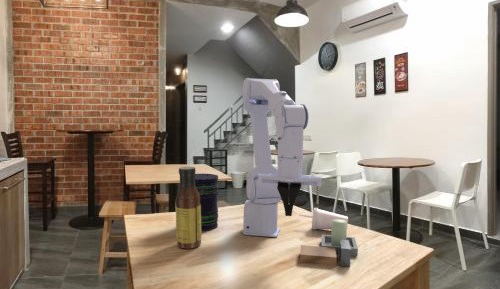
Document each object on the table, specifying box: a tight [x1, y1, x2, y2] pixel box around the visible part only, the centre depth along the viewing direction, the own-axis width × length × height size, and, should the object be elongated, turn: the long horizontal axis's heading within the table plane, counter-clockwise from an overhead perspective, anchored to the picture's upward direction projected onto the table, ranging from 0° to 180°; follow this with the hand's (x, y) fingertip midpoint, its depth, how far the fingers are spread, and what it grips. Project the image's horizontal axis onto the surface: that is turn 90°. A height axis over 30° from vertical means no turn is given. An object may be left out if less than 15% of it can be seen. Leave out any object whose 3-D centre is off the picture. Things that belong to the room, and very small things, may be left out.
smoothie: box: [298, 207, 349, 231], centre depth 106 cm, size 6×6×14 cm
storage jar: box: [195, 173, 219, 232], centre depth 107 cm, size 10×10×15 cm
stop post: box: [339, 239, 352, 268], centre depth 83 cm, size 2×6×4 cm, turn 169°
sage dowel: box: [331, 219, 348, 246], centre depth 91 cm, size 4×4×6 cm
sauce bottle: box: [174, 166, 202, 250], centre depth 91 cm, size 6×6×20 cm
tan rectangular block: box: [299, 245, 338, 267], centre depth 84 cm, size 8×6×2 cm
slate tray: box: [320, 234, 359, 257], centre depth 91 cm, size 8×8×2 cm
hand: (288, 214), depth 85 cm, fingers closed
